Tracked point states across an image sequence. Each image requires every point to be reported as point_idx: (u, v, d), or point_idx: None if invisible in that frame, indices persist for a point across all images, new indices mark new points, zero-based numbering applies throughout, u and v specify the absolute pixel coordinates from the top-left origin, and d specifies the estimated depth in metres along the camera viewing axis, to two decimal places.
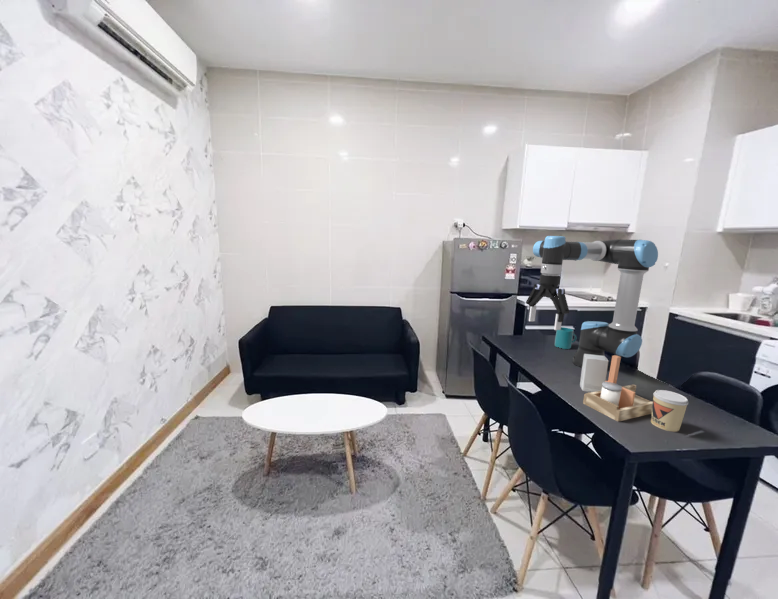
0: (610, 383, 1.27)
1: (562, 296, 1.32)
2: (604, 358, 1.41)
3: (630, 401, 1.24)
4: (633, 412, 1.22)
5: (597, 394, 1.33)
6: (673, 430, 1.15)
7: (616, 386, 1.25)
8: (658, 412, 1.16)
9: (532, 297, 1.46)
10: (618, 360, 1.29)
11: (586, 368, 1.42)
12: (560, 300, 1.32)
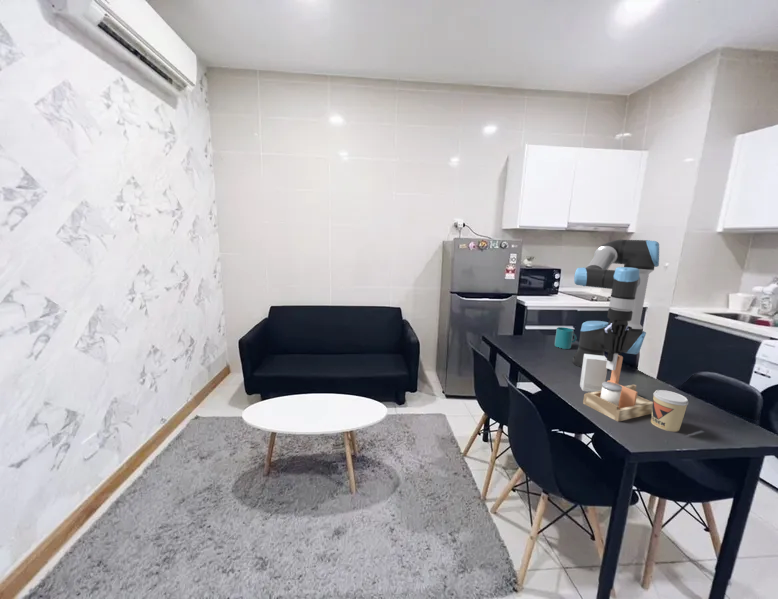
0: (610, 383, 1.27)
1: (606, 335, 1.26)
2: (604, 358, 1.41)
3: (633, 401, 1.24)
4: (633, 412, 1.22)
5: (597, 394, 1.33)
6: (673, 430, 1.15)
7: (616, 386, 1.25)
8: (659, 412, 1.16)
9: None
10: (620, 360, 1.30)
11: (586, 368, 1.42)
12: None
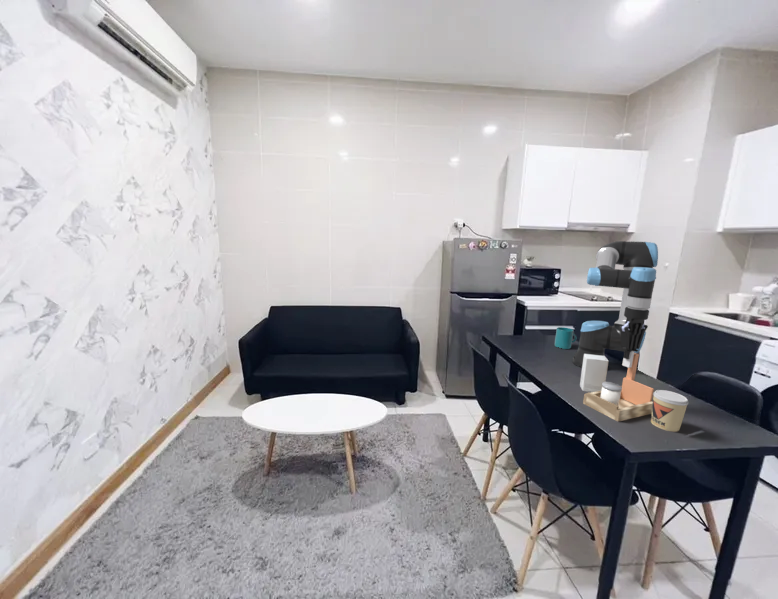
0: (610, 383, 1.27)
1: (623, 333, 1.29)
2: (604, 358, 1.41)
3: (649, 397, 1.28)
4: (633, 412, 1.22)
5: (597, 394, 1.33)
6: (673, 430, 1.15)
7: (616, 386, 1.25)
8: (659, 412, 1.16)
9: None
10: (636, 358, 1.33)
11: (586, 368, 1.42)
12: None
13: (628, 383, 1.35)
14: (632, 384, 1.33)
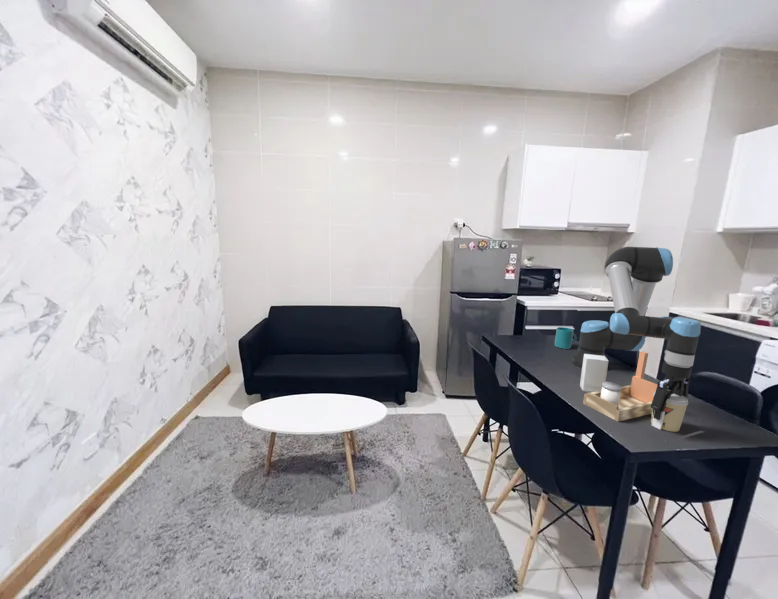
0: (610, 383, 1.27)
1: (659, 390, 1.14)
2: (604, 358, 1.41)
3: None
4: (633, 412, 1.22)
5: (597, 394, 1.33)
6: (673, 430, 1.15)
7: (616, 386, 1.25)
8: None
9: None
10: (645, 356, 1.35)
11: (586, 368, 1.42)
12: None
13: (637, 381, 1.37)
14: (641, 382, 1.35)
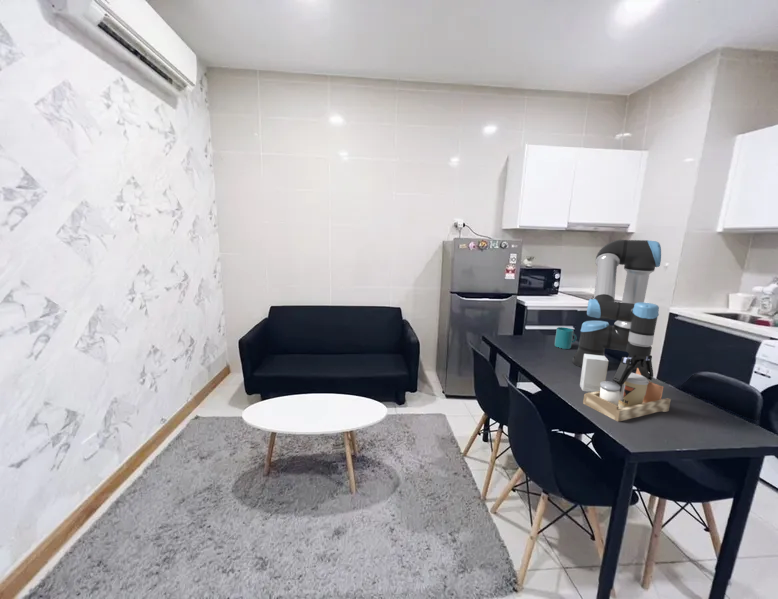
0: (608, 382, 1.27)
1: (622, 365, 1.26)
2: (604, 358, 1.41)
3: (659, 395, 1.30)
4: (633, 412, 1.22)
5: (597, 394, 1.33)
6: None
7: (614, 385, 1.25)
8: None
9: None
10: None
11: (586, 368, 1.42)
12: None
13: None
14: None
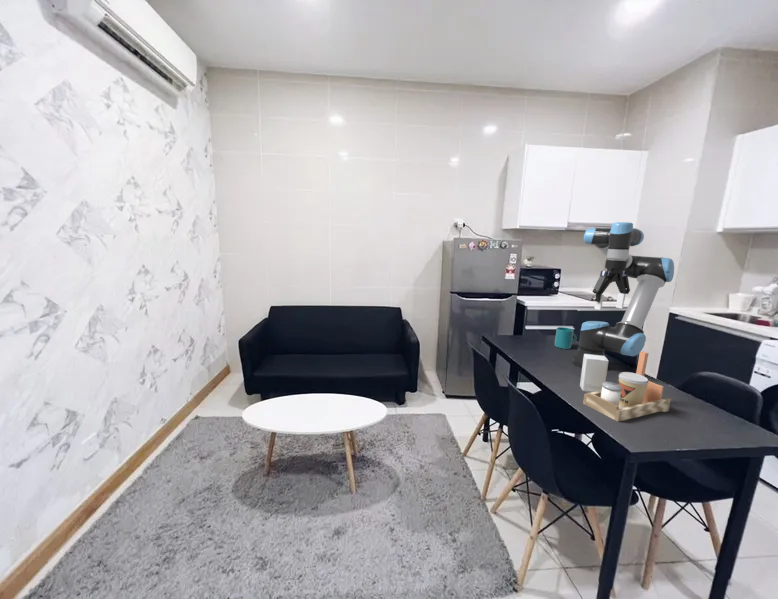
0: (610, 383, 1.27)
1: (601, 277, 1.42)
2: (604, 358, 1.41)
3: (659, 395, 1.30)
4: (633, 412, 1.22)
5: (597, 394, 1.33)
6: None
7: (616, 386, 1.25)
8: (623, 392, 1.30)
9: None
10: (646, 356, 1.35)
11: (586, 368, 1.42)
12: None
13: None
14: None
